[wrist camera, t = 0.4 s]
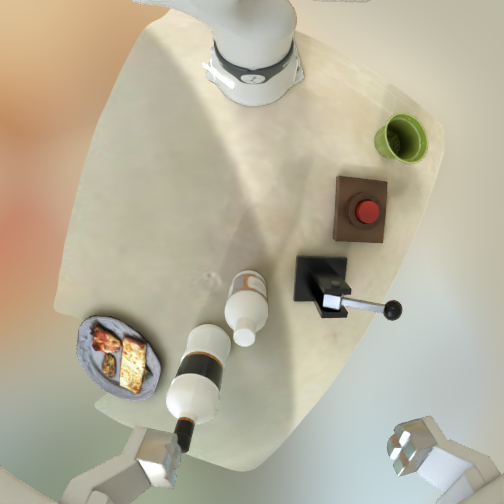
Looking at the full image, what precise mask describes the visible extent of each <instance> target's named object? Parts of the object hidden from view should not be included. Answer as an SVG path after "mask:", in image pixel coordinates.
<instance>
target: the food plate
mask: <svg viewBox="0 0 504 504" xmlns="http://www.w3.org/2000/svg"><path fill="white" fill-rule="evenodd" d="M77 357H78V360H79V362H80V363H81V365H82V367H83V368H84V370H85V371H86V372H87V374H88V375H89V376H90V378H91V379H92V380H93V381H94V382H95V383H96V384H97V385H99V386H100V387H101V388H103V389H104V390H106V391H107V392H109V393H111V394H113V395H115V396H117V397H119V398H121V399H128V400H135V401H140V400H144V399H147V398H149V397H150V396H152V395H154V392H155V389H156V386H157V383H158V379H159V376H160V371H161V364H160V361H159V358H158V357H157V355H156V353H155V352H154V350H153V349H152V346H151V345H150V343H149V342H148V341H147V340H146V339H145V338H144V337H143V336H142V335H141V334H140V333H139V332H138V331H136V330H135V329H133V328H132V327H130V326H129V325H127V324H126V323H124V322H122V321H121V320H119V319H117V318H114V317H112V316H97V315H93V316H91V317H89V319H86V320H85V321H84V322H82V324H81V325H80V327H79V331H78V340H77Z"/></svg>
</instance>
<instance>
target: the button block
mask: <svg viewBox="0 0 504 504" xmlns="http://www.w3.org/2000/svg"><path fill="white" fill-rule="evenodd" d="M386 198H387V182H385V181H377V180H369V179H360V178H351V177H341V176H339V177H336V198H335V216H334V231H333V239H334V240H335V241H347V242H369V243H383V236H384V226H385V214H386ZM365 200H367V201H372V202H374V203H375V204H376V205H377V206H378V209H379V216H378V218H377V220H376V221H374V222H373V223H365V222H362V221H360V220H359V219H358V217H357V215H356V208H357V206H358V204H359V203H360V202H362V201H365Z"/></svg>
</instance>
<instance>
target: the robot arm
mask: <svg viewBox="0 0 504 504" xmlns="http://www.w3.org/2000/svg"><path fill="white" fill-rule="evenodd" d="M131 1H133V2H135V3H138V4H151V5H158V6H164V7H169V8H172V9H175V10H178V11H181V12H183V13H186V14H188V15H190V16H192V17H194V18H196V19H198V20H199V21H201V22H202V23H204V24H205V25H206V26H207V27H209V29H210V31H211V33H212V35H213V42H214V47H211V53H212V55H211V58H210V61H209V64H208V66H207V65H206V64H204V63H203V66H204V67H205V68H207V70H206V78H207V79H208V80H210V81H212V82H213V83H215V84H217V85H218V86H219V87H220V89H221V90H222V91H223V93H224V94H225V95H226V96H227V97H228V98H230V99H231V100H233V101H235V102H237V103H239V104H243V105H247V106H262V105H266V104H270V103H272V102H274V101H276V100H278V99H279V98H281V97H282V96H283V95H284V94H285V93H286V92H287V90H288V89H289V88H290V87H291V86H293V85H295V84H297V83H299V82H300V81H302V80H303V77H304V74H303V70H302V66H301V63H300V59H299V55H298V52H297V48H296V44H295V41H294V38H293V35H294V31H295V27H296V23H297V16H296V12H295V10H294V7H293V6H292V4H291V3H290V2H289V0H131ZM316 1H335V2H368V1H370V0H316ZM297 70H298V72H297ZM394 432H395V434H394V435H392V436H391V437H390V439H389V441H388V444H387V451H388V454H389V457H390V458H391V459H393V460H395V461H394V464H393V467H394V469H395V471H396V473H397V476H398V477H399V476H403V475H406V474H409V473H413V472H416V473H417V474H418V475H420V476H421V477H422V478H424V479H425V480H427V481H428V482H430V483H431V484H432V485H434V486H435V487H437V488H438V489H440V490H441V491H443V492H444V494H443V495H442V496H441V497H440V498H439V499H438V500H437V502H436V504H504V474H502V475H501V473H500V472H499V470H498V469H497V467H496V466H495V464H494V463H493V461H492V460H491V458H490V457H489V456H487V455H484V454H482V453H480V452H477V451H475V450H473V449H471V448H468V447H466V446H463V445H461V444H459V443H457V442H455V441H453V440H447V438H446V437H445V435H444V434H443V432H442V431H441V429H440V428H439V426H438V425H437V423H436V422H435V420H434V419H433V418H432V417H431V416H426V417H423V418H420V419H415V420H412V421H409V422H405V423H401V424H398V425H397V426H396V427H395V429H394ZM177 441H178V437H177V434H175V433H170V432H164V431H159V430H154V429H150V428H145V427H141V426H136V427H135V428H134V429H133V431H132V433H131V435H130V437H129V439H128V441H127V443H126V445H125V448H124V450H123V452H122V454H121V456H118V455H116V456H115V457H113V458H111V459H109V460H107V461H106V462H104V463H102V464H100V465H98V466H96V467H95V468H92V469H90V470H89V471H87V472H85V473H83V474H81V475H79V476H76V477H74V478H72V479H71V481H70V482H69V484H68V486H67V488H66V490H65V492H64V493H63V495H62V497H61V499H60V501H59V503H57V502H55V501H54V500H52V499H50V498H48V497H46V496H45V495H43V494H41V493H40V492H38V491H36V490H35V489H33V488H32V487H30V486H29V485H27V484H25V483H24V482H23V481H21V480H20V479H18V478H17V477H15V476H14V475H12V474H11V473H10V472H8V471H7V470H6V469H4V468H3V467H2V466H1V465H0V504H130V503H131V502H132V501H134V500H135V499H136V498H137V497H139V496H140V495H141V494H142V493H144V492H145V491H146V490H147V489H149V488H150V487H151V485H154V486H159V487H164V488H170V489H174V485H175V482H176V478H177V475H176V472H175V470H176V469H177V468H179V466H180V462H181V448H180V446H179V445H178V444H177Z"/></svg>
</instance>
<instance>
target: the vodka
mask: <svg viewBox="0 0 504 504" xmlns="http://www.w3.org/2000/svg"><path fill="white" fill-rule="evenodd" d="M230 349H231V340H230V338H229V336H228V334H227V333H226V332H225V331H224V330H223V329H222V328H220V327H218V326H216V325H212V324H203V325H200V326H197V327H196V328H194V329H193V330H192V331H191V333H190V334H189V337H188V340H187V349H186V352H185V354H184V355H183V356H182V358H181V365H180V367H179V369H178V372H177V374H176V377H175V379H174V380H173V381H172V383H171V386H170V388H169V390H168V392H167V395H166V403H167V407H168V409H169V411H170V412H171V414H172V415H173V416H175V417H176V418H177V419H178V421H177V424H176V428H175V431H174V433H175V434H177V437H178V441H177V444H178V445H179V446H180V448H181V453H186V452H188V451H189V447H190V442H191V438H192V434H193V430H194V426H195V424H203V423H206V422H208V421H210V420H211V419H212V418H213V417H214V416H215V415H216V413H217V411H218V405H219V400H220V388H221V383H222V377H223V375H224V372H225V361H226V358H227V357H228V355H229V353H230Z"/></svg>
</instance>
